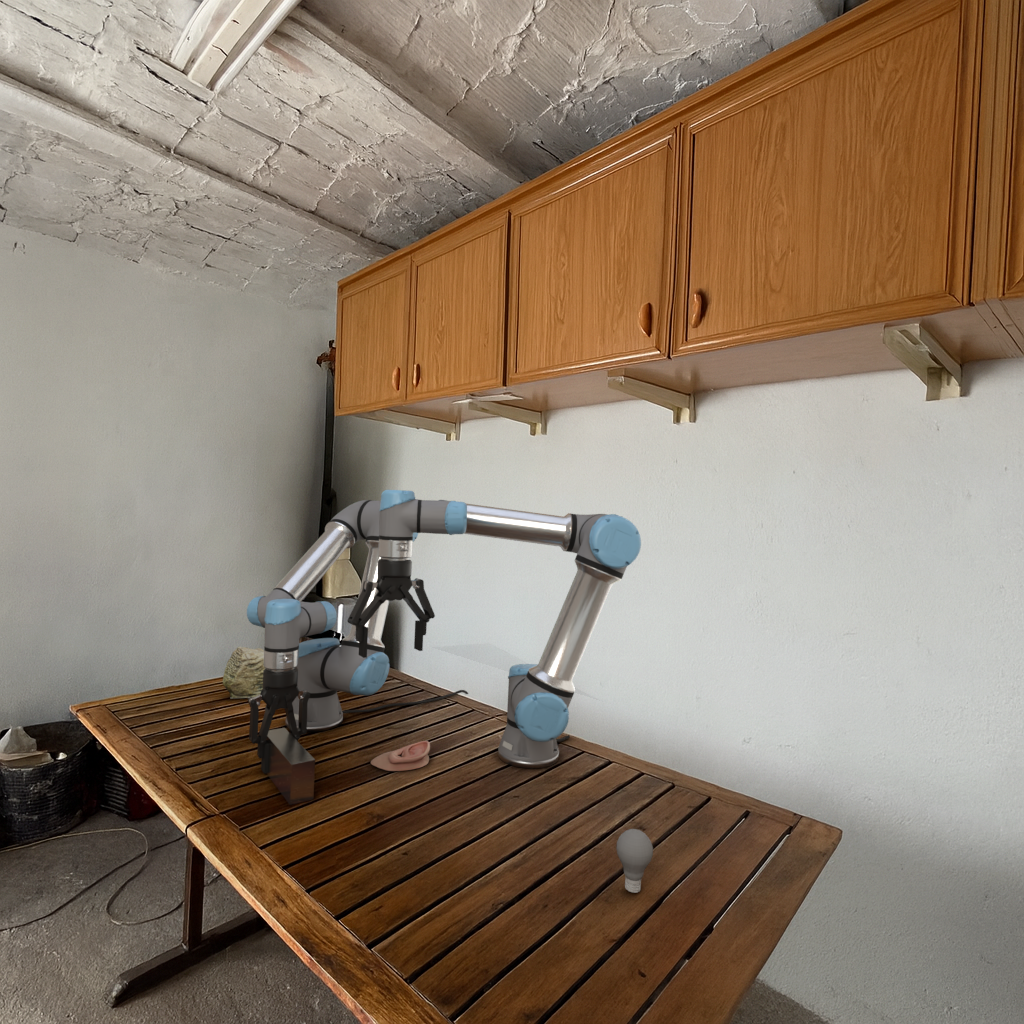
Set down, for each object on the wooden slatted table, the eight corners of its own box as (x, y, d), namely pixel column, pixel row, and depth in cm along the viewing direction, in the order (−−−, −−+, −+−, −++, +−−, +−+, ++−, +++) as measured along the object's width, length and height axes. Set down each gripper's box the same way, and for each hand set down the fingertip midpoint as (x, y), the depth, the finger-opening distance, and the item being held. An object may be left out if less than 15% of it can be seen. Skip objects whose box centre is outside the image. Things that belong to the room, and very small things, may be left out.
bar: (261, 767, 147) (263, 731, 147) (283, 762, 150) (284, 727, 149) (289, 805, 130) (291, 764, 129) (313, 799, 133) (315, 759, 132)
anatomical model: (365, 751, 148) (384, 733, 160) (364, 767, 148) (384, 749, 160) (419, 758, 146) (435, 740, 157) (418, 775, 146) (434, 756, 157)
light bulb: (610, 879, 108) (613, 822, 108) (644, 879, 109) (647, 822, 109) (619, 902, 102) (622, 840, 102) (655, 901, 103) (658, 840, 103)
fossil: (218, 695, 195) (220, 647, 195) (278, 685, 208) (279, 640, 207) (228, 703, 189) (230, 653, 188) (289, 692, 201) (290, 645, 201)
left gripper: (243, 676, 137) (239, 783, 137) (325, 666, 147) (321, 766, 148) (235, 668, 143) (231, 770, 143) (314, 659, 153) (310, 754, 154)
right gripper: (348, 561, 131) (344, 663, 132) (451, 559, 146) (447, 650, 147) (334, 558, 138) (331, 655, 138) (435, 556, 152) (431, 643, 153)
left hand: (277, 768), depth 145 cm, fingers closed on bar, 5 cm apart
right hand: (391, 652), depth 142 cm, fingers open, 13 cm apart
